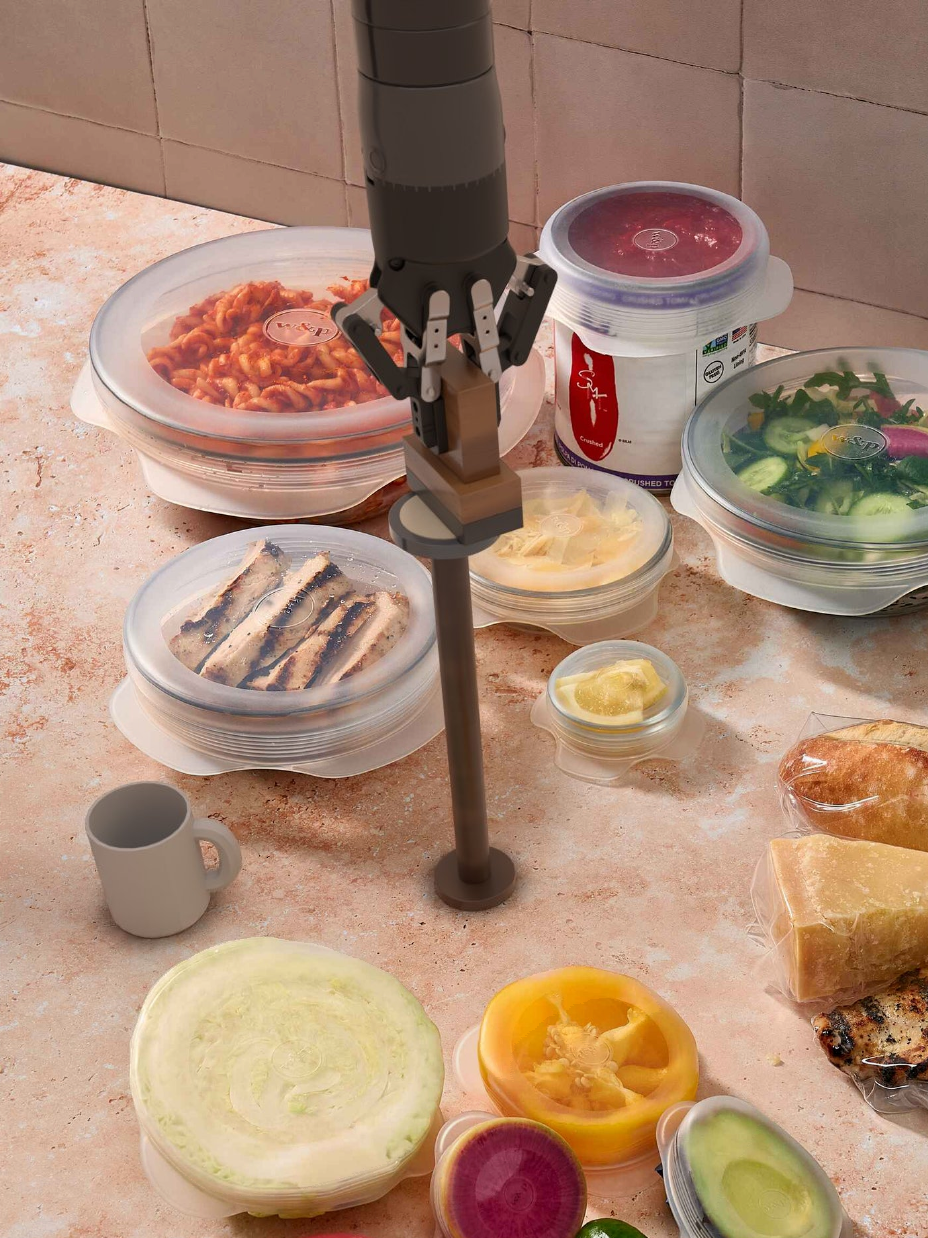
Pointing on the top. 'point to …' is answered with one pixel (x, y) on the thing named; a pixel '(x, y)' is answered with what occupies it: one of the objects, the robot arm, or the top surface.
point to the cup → (157, 857)
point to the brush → (466, 459)
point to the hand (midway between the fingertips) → (458, 440)
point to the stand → (464, 751)
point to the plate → (427, 532)
